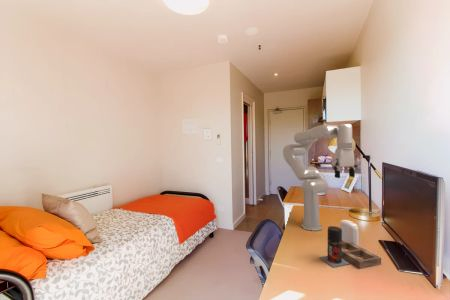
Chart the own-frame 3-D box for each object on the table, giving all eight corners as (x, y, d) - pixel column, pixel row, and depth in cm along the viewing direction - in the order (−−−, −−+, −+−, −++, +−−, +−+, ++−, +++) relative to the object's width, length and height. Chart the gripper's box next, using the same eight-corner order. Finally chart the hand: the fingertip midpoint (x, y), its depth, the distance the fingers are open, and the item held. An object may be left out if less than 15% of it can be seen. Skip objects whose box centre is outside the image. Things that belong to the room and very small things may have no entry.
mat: (319, 257, 107) (319, 257, 107) (335, 255, 109) (335, 254, 109) (333, 267, 98) (333, 266, 98) (349, 264, 100) (349, 263, 100)
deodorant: (343, 260, 104) (343, 228, 103) (339, 265, 99) (339, 232, 99) (330, 255, 108) (330, 225, 107) (325, 260, 104) (325, 228, 103)
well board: (330, 250, 114) (330, 244, 114) (349, 246, 118) (349, 241, 117) (359, 268, 97) (359, 262, 97) (381, 264, 100) (381, 257, 100)
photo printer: (339, 239, 126) (339, 218, 126) (345, 238, 127) (345, 217, 127) (353, 247, 116) (353, 224, 116) (360, 246, 117) (360, 223, 117)
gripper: (351, 146, 128) (351, 175, 128) (326, 146, 123) (326, 177, 124) (362, 146, 121) (363, 177, 121) (336, 146, 116) (336, 179, 117)
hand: (344, 177), depth 123 cm, fingers open, 9 cm apart
